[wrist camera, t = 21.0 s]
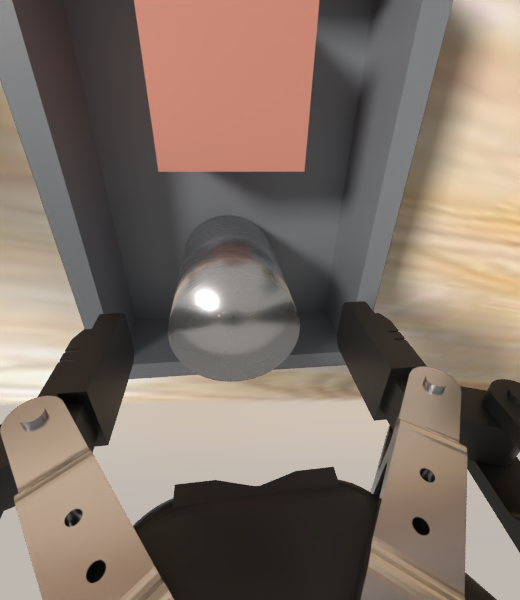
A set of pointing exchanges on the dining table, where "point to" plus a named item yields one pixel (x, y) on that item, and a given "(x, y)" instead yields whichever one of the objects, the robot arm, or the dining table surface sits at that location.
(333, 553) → the robot arm
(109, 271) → the tote
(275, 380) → the dining table surface
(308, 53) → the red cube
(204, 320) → the steel cylinder
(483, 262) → the dining table surface
